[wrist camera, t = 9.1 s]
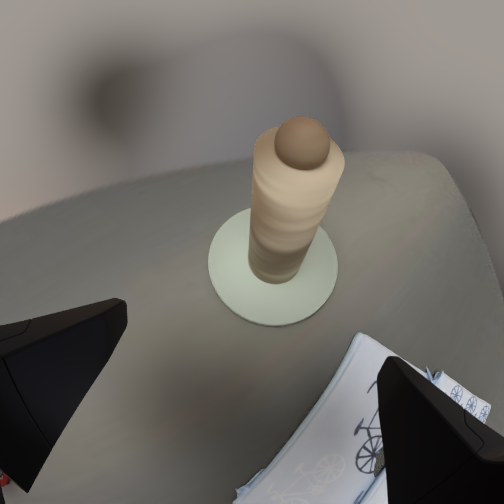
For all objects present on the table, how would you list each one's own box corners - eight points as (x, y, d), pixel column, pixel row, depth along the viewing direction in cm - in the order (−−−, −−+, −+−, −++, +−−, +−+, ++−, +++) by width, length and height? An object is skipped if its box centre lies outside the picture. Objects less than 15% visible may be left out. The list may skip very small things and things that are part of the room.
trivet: (354, 253, 25) (357, 248, 24) (289, 353, 21) (292, 352, 20) (259, 193, 28) (259, 186, 27) (183, 274, 24) (181, 269, 23)
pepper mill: (310, 268, 23) (375, 142, 11) (265, 293, 22) (295, 169, 10) (282, 228, 25) (314, 90, 12) (238, 249, 24) (237, 107, 11)
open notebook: (392, 553, 11) (401, 561, 9) (225, 494, 16) (223, 504, 14) (485, 406, 18) (498, 405, 16) (356, 318, 23) (366, 312, 21)
